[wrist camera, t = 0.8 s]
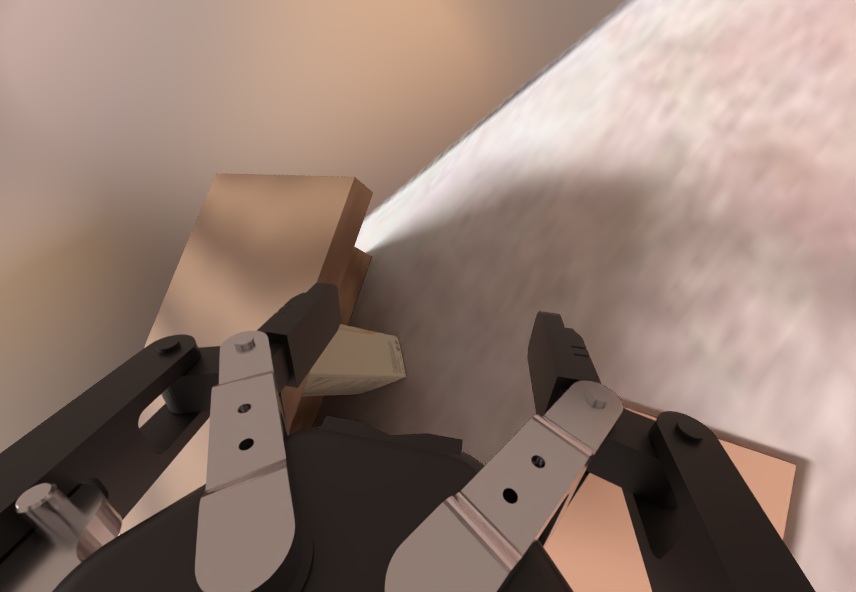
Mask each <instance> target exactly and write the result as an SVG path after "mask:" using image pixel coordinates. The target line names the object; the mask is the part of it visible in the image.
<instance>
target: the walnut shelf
mask: <svg viewBox="0 0 856 592" xmlns="http://www.w3.org/2000/svg"><path fill="white" fill-rule="evenodd" d="M372 194H373V192H372V191H371V190H369V189H368V188H367V187H366V186H365V185H364V184H362V183H361V182H360V181H359V180H358V179H356V178H355V177H334V176H331V177H330V176H295V175H294V176H293V175H253V174H252V175H251V174H216V175H215V177H214V179H213V182H212V184H211V187H210V189H209V192H208V194H207V196H206V199H205V201H204V204H203V206H202V209H201V211H200V213H199V216H198V218H197V221H196V223H195V225H194V228H193V230H192V233H191V235H190V238H189V240H188V243H187V245H186V248H185V250H184V252H183V255H182V257H181V259H180V262H179V265H178V267H177V269H176V272H175V274H174V276H173V279H172V282H171V284H170V286H169V289H168V291H167V294H166V296H165V298H164V301H163V303H162V306H161V308H160V310H159V313H158V315H157V318H156V320H155V323H154V325H153V327H152V330H151V332H150V335H149V337H148V340H147V342H146V345H145V347H147V346H148V345H150V344H151V343H153V342H155V341H157V340H159V339H161V338H164V337H168V336H172V335H179V334H185V335H190V336H192V337H194V338H195V341H196V343H197V346H198V347H213V346H221V344H222V343H223V342H224V341H225V340H226V339H228V338H229V337H231V336H233V335H235V334H237V333H240V332H245V331H257V330H258V329H259V328H260V327H261V326H262V325H263V324H264V323H265V322H266V321H267V320H268V319H270V318H271V317H272V316H273V315H274V314H275V313H276V312H278V310H279V309H280V308H281V307H284V305H285V304H286V303H287V302H288V301H289V300H290V299H291V298H293V297H295V296H297V295H299V294H301V293H303V292H304V293H306V292H307V291H308V290H309V289H310V288H311V287H312V286H313V285H314V284H315V283H317V282H319V283H327V284H334V285H336V286H337V288H338V295H339V305H340V316H341V320H340V324H343V325H347V326H348V324H349V321H350V318H351V315H352V312H353V309H354V306H355V303H356V300H357V298H358V295H359V292H360V289H361V286H362V283H363V280H364V277H365V274H366V271H367V268H368V266H369V263H370V260H371V257H372V256H370V255H368V254H366V253H365V252H363V251H361V250H359V249H358V248H356V247H354V245H355V242H356V240H357V237H358V234H359V231H360V228H361V225H362V223H363V220H364V217H365V214H366V211H367V208H368V205H369V203H370V200H371V197H372ZM145 347H144V348H145ZM309 373H310V371H309ZM309 373H308V374H307V376H306V377H305V378H304V380H303V381H302V383H301V384H300V386H299V387H298V388H295V387H289V386H285V387H284V388H283V389H282V391H281V393H282V397H283V403H284V409H285V414H286V420H287V425H288V431H289V434H292V433H294V432H297V431H300V430H303V429H307V428H312V427H313V425H314V422H315V420H316V417H317V414H318V411H319V408H320V405H321V402H322V399H323V396H324V395H323V396H302V393H303V390H304V388H305V385H306V382H307V379H308V376H309ZM164 404H165V401H164V399H163V397H162V395H160V396H159V397H157V398H156V399H155V400H154V401H153V402H152V403H151V404H150V405H149V406H148V407H147V408H146V409H145V410H144V411H143V412H142V414H141V415H140V417H139V421H138V426H139V428H140V427H141V426H142V425H143V424H144V423H146V422H147V421H148V420H149V419H150V418H151V417H152V416H153V415H154V414H155V413H156V412H157V411H158V410H159V409H160V408H161V407H162V406H163V405H164ZM209 425H210V417H209V418H208V420H207V421H206V422H205V423H204V424H203V426H202V427H201V428H200V429H199V430H198V431H197V433H196V434H195V435H194V436H193V437H192V439H191V440H190V441H189V442H188V443H187V445H186V446H185V447H184V448H183V449H182V450H181V452H180V453H179V454H178V455H177V456H176V458H175V459H174V460H173V461H172V462H171V463H170V465H169V466H168V467H167V468H166V469H165V471H164V472H163V473H162V474H161V475H160V477H159V478H158V479H157V480H156V481H155V482H154V484H153V485H152V486H151V487H150V488H149V490H148V491H147V492H146V493H145V494H144V496H143V497H142V498H141V499H140V500H139V501H138V503H137V504H136V505H135V506H134V507H133V509H132V510H131V511H130V512H129V513H128V514H127V516H126V517H125V518H124V519H123V520H122V527H121V530H120V533H119V534H120V535H121V534H122V533H124V532H126V531H127V530H129V529H131V528H132V527H134V526H136V525H137V524H139V523H141V522H142V521H144V520H146V519H147V518H149V517H151V516H152V515H154V514H156V513H158V512H159V511H161V510H163V509H164V508H166V507H168V506H169V505H171V504H173V503H174V502H176V501H178V500H179V499H181V498H183V497H184V496H186V495H188V494H189V493H191V492H193V491H194V490H196V489H198V488H199V487H201V486H203V485H204V484H206V476H207V459H208V442H209Z"/></svg>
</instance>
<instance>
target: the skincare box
mask: <svg viewBox="0 0 856 592" xmlns="http://www.w3.org/2000/svg"><path fill="white" fill-rule="evenodd" d="M405 377H406V374H405V368H404V363H403V358H402V353H401V349H400V344H399V341H398V337H397V336H393V335H388V334H384V333H379V332H374V331H370V330H366V329H361V328H357V327H352V326H347V325H343V324H340V326H339V329H338V331H337V333H336V334H335V335H334V337H333V338H332V340H331V341H330V343H329V344H328V345H327V347H326V348H325V350H324V351H323V353H322V354H321V355H320V357H319V358H318V360H317V361H316V363H315V364H314V366H313V367H312V368H311V370H310V373H309V376H308V379H307V382H306V385H305V388H304V390H303V393H302V396H323V395H351V394H361V393H365V392H368V391H371V390H374V389H377V388H379V387H382V386H385V385H388V384H390V383H393V382H395V381H398V380H400V379H403V378H405Z"/></svg>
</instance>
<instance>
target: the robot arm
mask: <svg viewBox="0 0 856 592" xmlns="http://www.w3.org/2000/svg"><path fill="white" fill-rule="evenodd" d="M340 320H341V316H340V305H339V295H338V288H337V286H336V285H334V284H327V283H319V282H317V283H315V284H314V285H313V286H312V287H311V288H310V289H309V290H308V291H307V292H306V293H304V292H303V293H301V294H299V295H297V296H295V297H293V298H291V299H290V300H289V301H288V302H287V303H286V304H285V305H284V307H281V308H280V309H279V310H278V312H276V313H275V314H274V315H273V316H272V317H271V318H270V319H268V320H267V321H266V322H265V323H264V324H263V325H262V326H261V327H260V328H259V329H258V330H257V331H245V332H240V333H237V334H235V335H233V336H231V337H229V338H228V339H226V340H225V341H224V342H223V343H222V344H221V346H213V347H198V346H197V343H196V341H195V338H194V337H192V336H190V335H185V334H179V335H172V336H168V337H164V338H161V339H159V340H157V341H155V342H153V343H151V344H150V345H148V346H147V347H145V348H144V349H143V350H141V351H140V352H139V353H137V354H136V355H134V356H133V357H132V358H130V359H129V360H128V361H126V362H125V363H124V364H122V365H121V366H119V367H118V368H117V369H115V370H114V371H112V372H111V373H110V374H108V375H107V376H106V377H104V378H103V379H102V380H100V381H99V382H97V383H96V384H95V385H93V386H92V387H91V388H89V389H88V390H86V391H85V392H84V393H83V394H81V395H80V396H78V397H77V398H76V399H74V400H73V401H71V402H70V403H69V404H67V405H66V406H65V407H63V408H62V409H60V410H59V411H58V412H57V413H55V414H54V415H52V416H51V417H50V418H48V419H47V420H45V421H44V422H43V423H41V424H40V425H39V426H37V427H36V428H34V429H33V430H32V431H30V432H29V433H28V434H26V435H25V436H24V437H22V438H21V439H19V440H18V441H17V442H15V443H14V444H13V445H11V446H10V447H8V448H7V449H6V450H5V451H3V452H2V453H0V592H574V591H573V590H572V588H571V587H570V585H569V584H568V582H567V581H566V579H565V578H564V576H563V575H562V574H561V572H560V571H559V569H558V568H557V566H556V565H555V563H554V562H553V560H552V559H551V557H550V556H549V554H548V553H547V551H546V550H545V546H546V544H547V543H548V541H549V540H550V538H551V536H552V535H553V533H554V531H555V529H556V528H557V526H558V524H559V522H560V521H561V519H562V517H563V516H564V514H565V512H566V511H567V509H568V508H569V506H570V505H571V503H572V501H573V500H574V498H575V497H576V495H577V494H578V492H579V490H580V489H581V487H582V486H583V484H584V483H585V481H586V480H587V478H588V476H589V475H590V473H591V474H593V475H595V476H598V477H600V478H602V479H604V480H606V481H608V482H610V483H612V484H614V485H617V486H619V487H621V488H622V491H623V494H624V498H625V501H626V505H627V508H628V511H629V515H630V518H631V521H632V525H633V528H634V532H635V535H636V538H637V542H638V545H639V549H640V552H641V555H642V559H643V562H644V566H645V569H646V572H647V576H648V579H649V582H650V586H651V589H652V592H815V590H814V589H813V587H812V585H811V584H810V582H809V581H808V579H807V578H806V576H805V574H804V573H803V571H802V570H801V568H800V567H799V565H798V563H797V562H796V560H795V559H794V557H793V556H792V554H791V553H790V551H789V549H788V548H787V546H786V545H785V543H784V542H783V540H782V538H781V537H780V535H779V534H778V532H777V531H776V529H775V527H774V526H773V524H772V523H771V521H770V520H769V518H768V517H767V515H766V513H765V512H764V510H763V509H762V507H761V506H760V504H759V502H758V501H757V499H756V498H755V496H754V495H753V493H752V491H751V490H750V488H749V487H748V485H747V484H746V482H745V480H744V479H743V477H742V476H741V474H740V473H739V471H738V470H737V468H736V466H735V465H734V463H733V462H732V460H731V459H730V457H729V455H728V454H727V452H726V451H725V449H724V448H723V446H722V444H721V443H720V441H719V440H718V438H717V437H716V436H715V434H714V433H713V432H712V431H711V430H710V429H708V428H707V427H706V426H705V425H703V424H702V423H700V422H699V421H697V420H696V419H694V418H692V417H690V416H687V415H685V414H682V413H678V412H672V411H667V412H663V413H661V414H660V415H659V416H658V417H657V419H656V421H655V420H652V419H650V418H647V417H644V416H642V415H639V414H637V413H634V412H632V411H629V410H627V409H625V408H623V404H622V402H621V400H620V398H619V397H618V396H617V395H616V394H615V393H614V392H613V391H612V390H610V389H609V388H607V387H606V386H604V385H602V384H601V382H600V380H599V377H598V375H597V372H596V370H595V368H594V365H593V363H592V360H591V358H589V353H588V351H587V350H586V346H585V344H584V341H583V339H582V337H581V336H580V335H579V334H577V333H576V332H575V331H574V330H573V329H570V328H565V327H564V324H563V321H562V319H561V316H560V314H556V313H548V312H540V311H539V312H538V313H537V316H536V319H535V323H534V327H533V331H532V335H531V338H530V342H529V347H528V364H529V370H530V376H531V383H532V389H533V395H534V401H535V408H536V415H534V416H533V417H532V418H531V419H530V420H529V421H528V422H527V423H526V424H525V425H524V426H523V427H522V428H521V429H520V430H519V431H518V433H517V434H516V435H515V436H514V437H513V438H512V439H511V440H510V441H509V442H508V443H507V444H506V445H505V446H504V447H503V448H502V449H501V450H500V451H499V452H498V453H497V454H496V455H495V456H494V457H493V458H492V459H491V460H490V461H489V462H488V463H487V464H486V465H485V466H484V465H483V464H482V463H481V462H479V461H478V460H477V459H475V458H474V457H472V456H470V455H468V454H466V453H464V452H462V451H461V450H462V440H461V439H455V438H449V437H444V436H438V435H433V434H411V435H388V434H386V433H384V432H381V431H379V430H377V429H375V428H372V427H370V426H368V425H366V424H364V423H361V422H359V421H354V420H348V419H343V418H337V417H332V416H326V418H325V420H324V421H323V423H322V425H321V426H319V427H312V428H307V429H303V430H300V431H297V432H294V433H292V434H289V431H288V425H287V420H286V414H285V409H284V403H283V397H282V393H281V391H282V389H283V388H284V387H285V386H289V387H295V388H298V387H299V386H300V384H301V383H302V381H303V380H304V378H305V377H306V376H307V374H308V373H309V371H310V370H311V368H312V367H313V366H314V364H315V363H316V361H317V360H318V358H319V357H320V355H321V354H322V353H323V351H324V350H325V348H326V347H327V345H328V344H329V343H330V341H331V340H332V338H333V337H334V335H335V334H336V333H337V331H338V329H339V326H340ZM160 395H162V397H163V399H164V401H165V404H164V405H163V406H162V407H161V408H160V409H159V410H158V411H157V412H156V413H155V414H154V415H153V416H152V417H151V418H150V419H149V420H148V421H147V422H146V423H144V424H143V425H142V426H141V427H140V428H139V426H138V421H139V417H140V415H141V414H142V412H143V411H144V410H145V409H146V408H147V407H148V406H149V405H150V404H151V403H152V402H153V401H154V400H155V399H156V398H157V397H159V396H160ZM209 417H210V425H209V442H208V459H207V476H206V484H204V485H203V486H201V487H199V488H198V489H196V490H194V491H193V492H191V493H189V494H188V495H186V496H184V497H183V498H181V499H179V500H178V501H176V502H174V503H173V504H171V505H169V506H168V507H166V508H164V509H163V510H161V511H159V512H158V513H156V514H154V515H152V516H151V517H149V518H147V519H146V520H144V521H142V522H141V523H139V524H137V525H136V526H134V527H132V528H131V529H129V530H127V531H126V532H124V533H122V534H121V535H119V533H120V530H121V527H122V520H123V519H124V518H125V517H126V516H127V514H128V513H129V512H130V511H131V510H132V509H133V507H134V506H135V505H136V504H137V503H138V501H139V500H140V499H141V498H142V497H143V496H144V494H145V493H146V492H147V491H148V490H149V488H150V487H151V486H152V485H153V484H154V482H155V481H156V480H157V479H158V478H159V477H160V475H161V474H162V473H163V472H164V471H165V469H166V468H167V467H168V466H169V465H170V463H171V462H172V461H173V460H174V459H175V458H176V456H177V455H178V454H179V453H180V452H181V450H182V449H183V448H184V447H185V446H186V445H187V443H188V442H189V441H190V440H191V439H192V437H193V436H194V435H195V434H196V433H197V431H198V430H199V429H200V428H201V427H202V426H203V424H204V423H205V422H206V421H207V420H208V418H209ZM118 535H119V536H118Z"/></svg>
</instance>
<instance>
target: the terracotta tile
mask: <svg viewBox="0 0 856 592" xmlns="http://www.w3.org/2000/svg"><path fill="white" fill-rule="evenodd" d="M623 408H625V409H627V410H629V411H632V412H634V413H637V414H639V415H642V416H644V417H647V418H650V419H652V420H655V421H656V419H657V418H655V417H652V416H649V415H646V414H644V413H641V412H638V411H635V410H632V409H629V408H626V407H623ZM718 440H719V441H720V443H721V444H722V446H723V448H724V449H725V451H726V452H727V454H728V455H729V457H730V459H731V460H732V462H733V463H734V465H735V466H736V468H737V470H738V471H739V473H740V474H741V476H742V477H743V479H744V480H745V482H746V484H747V485H748V487H749V488H750V490H751V491H752V493H753V495H754V496H755V498H756V499H757V501H758V502H759V504H760V506H761V507H762V509H763V510H764V512H765V513H766V515H767V517H768V518H769V520H770V521H771V523H772V524H773V526H774V527H775V529H776V531H777V532H778V534H779V535H780V537H781V538H782V540H783V536H784V531H785V525H786V520H787V514H788V509H789V503H790V497H791V492H792V486H793V481H794V475H795V470H796V465H794V464H792V463H789V462H786V461H783V460H780V459H777V458H774V457H771V456H768V455H765V454H763V453H760V452H757V451H754V450H751V449H748V448H745V447H742V446H739V445H736V444H733V443H730V442H727V441H724V440H721V439H718ZM545 550H546V551H547V553H548V554H549V556H550V557H551V559H552V560H553V562H554V563H555V565H556V566H557V568H558V569H559V571H560V572H561V574H562V575H563V576H564V578H565V579H566V581H567V582H568V584H569V585H570V587H571V588H572V590H573V591H574V592H652V589H651V586H650V582H649V579H648V576H647V572H646V569H645V566H644V562H643V559H642V555H641V552H640V549H639V545H638V542H637V538H636V535H635V532H634V528H633V525H632V521H631V518H630V515H629V511H628V508H627V505H626V501H625V498H624V494H623V491H622V488H621V487H619V486H617V485H614V484H612V483H610V482H608V481H606V480H604V479H602V478H600V477H598V476H595V475H593V474H591V473H590V475H589V476H588V478H587V480H586V481H585V483H584V484H583V486H582V487H581V489H580V490H579V492H578V494H577V495H576V497H575V498H574V500H573V501H572V503H571V505H570V506H569V508H568V509H567V511H566V512H565V514H564V516H563V517H562V519H561V521H560V522H559V524H558V526H557V528H556V529H555V531H554V533H553V535H552V536H551V538H550V540H549V541H548V543H547V544H546V546H545Z"/></svg>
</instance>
